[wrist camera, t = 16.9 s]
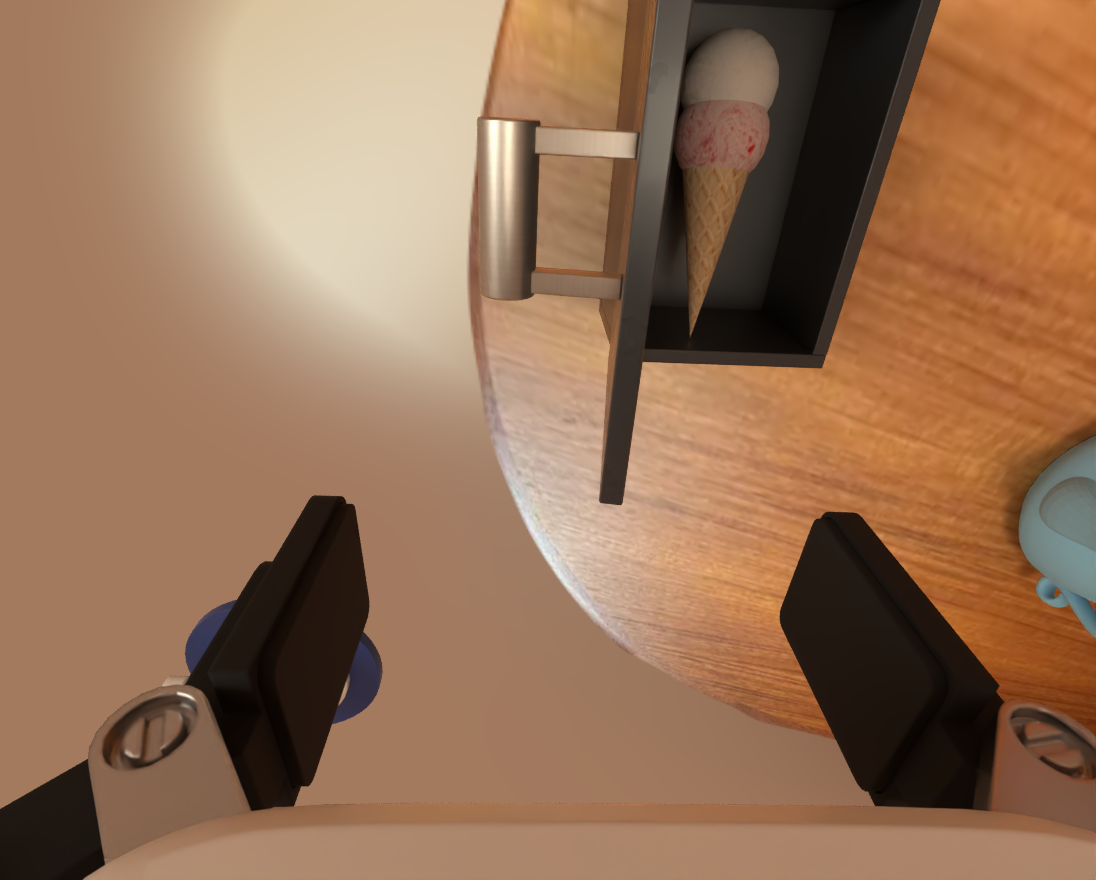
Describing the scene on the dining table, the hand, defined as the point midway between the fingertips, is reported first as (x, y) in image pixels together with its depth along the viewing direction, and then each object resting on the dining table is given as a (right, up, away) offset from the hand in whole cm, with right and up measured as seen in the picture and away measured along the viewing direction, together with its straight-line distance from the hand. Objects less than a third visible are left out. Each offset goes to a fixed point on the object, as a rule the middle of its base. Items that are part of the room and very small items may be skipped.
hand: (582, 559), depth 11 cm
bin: (+9, +19, +22) cm, 30 cm away
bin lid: (+3, +11, +9) cm, 14 cm away
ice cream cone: (+8, +16, +20) cm, 27 cm away
